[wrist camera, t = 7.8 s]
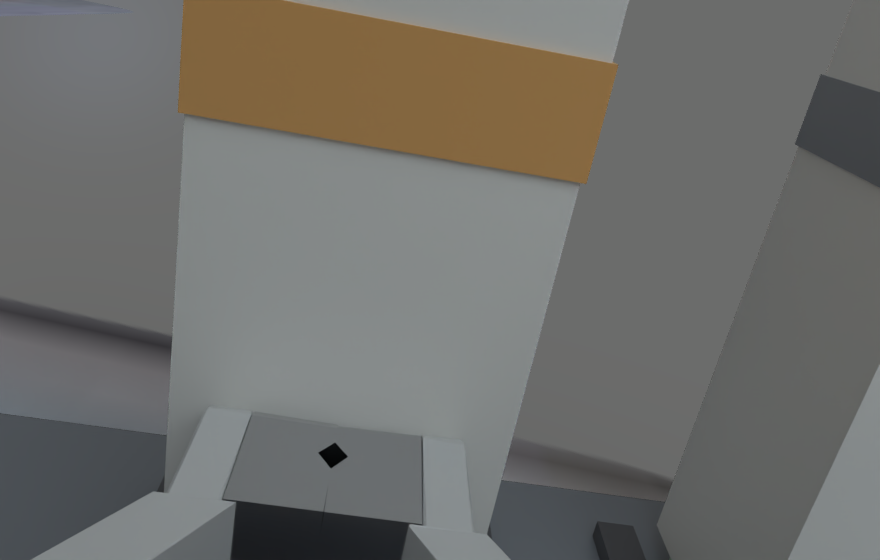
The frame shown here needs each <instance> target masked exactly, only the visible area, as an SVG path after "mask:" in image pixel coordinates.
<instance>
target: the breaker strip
mask: <svg viewBox="0 0 880 560" xmlns="http://www.w3.org/2000/svg"><path fill="white" fill-rule="evenodd" d="M795 144H796V145H798V150H797V152H796V155H795V157H794V160H793V163H792V165H791V168H790V170H789V173H788V176H787V178H786V181H785V184H784V186H783V189H782V192H781V194H780V197H779V200H778V203H777V205H776V208H775V211H774V213H773V216H772V219H771V221H770V224H769V227H768V229H767V232H766V235H765V237H764V240H763V243H762V245H761V248H760V251H759V253H758V256H757V259H756V261H755V264H754V267H753V269H752V272H751V275H750V278H749V280H748V283H747V285H746V288H745V291H744V293H743V296H742V299H741V302H740V304H739V307H738V310H737V312H736V315H735V317H734V320H733V323H732V325H731V328H730V331H729V333H728V336H727V339H726V341H725V344H724V347H723V350H722V352H721V355H720V357H719V360H718V363H717V366H716V368H715V371H714V374H713V376H712V379H711V382H710V384H709V387H708V390H707V392H706V395H705V398H704V400H703V403H702V406H701V408H700V411H699V414H698V416H697V419H696V422H695V424H694V427H693V430H692V432H691V435H690V438H689V440H688V443H687V446H686V448H685V451H684V454H683V456H682V459H681V462H680V464H679V467H678V470H677V472H676V475H675V478H674V480H673V483H672V486H671V488H670V491H669V494H668V496H667V499H666V502H661V501H653V500H646V499H638V498H631V497H623V496H616V495H608V494H601V493H593V492H586V491H578V490H571V489H563V488H556V487H548V486H541V485H533V484H526V483H518V482H511V481H503V480H501V483H500V487H499V491H498V494H497V498H496V502H495V506H494V509H493V513H492V517H491V521H490V524H489V528H488V532H487V535H488V536H489V537H490V538H491V539H492V540H493V541H494V542H495V543H496V544H497V545H498V547H499V548H500V549H501V550H502V551H503V552H504V553H505V554H506V555H507V556H508V557H509V558H510V559H511V560H880V0H853V2H852V5H851V8H850V10H849V13H848V16H847V18H846V21H845V24H844V26H843V29H842V32H841V34H840V37H839V40H838V42H837V45H836V48H835V50H834V53H833V56H832V59H831V61H830V64H829V66H828V69H827V72H826V75H822V74H821V76H820V78H819V81H818V84H817V86H816V89H815V91H814V94H813V97H812V99H811V103H810V105H809V108H808V110H807V113H806V116H805V119H804V121H803V124H802V127H801V129H800V132H799V135H798V137H797V140H796V143H795ZM166 444H167V436H166V435H159V434H151V433H144V432H136V431H129V430H121V429H114V428H106V427H99V426H91V425H84V424H76V423H69V422H61V421H54V420H46V419H39V418H31V417H24V416H16V415H9V414H1V413H0V560H31V559H33V558H35V557H36V556H38V555H40V554H42V553H44V552H45V551H47V550H49V549H51V548H53V547H54V546H56V545H58V544H60V543H61V542H63V541H65V540H67V539H69V538H70V537H72V536H74V535H76V534H78V533H79V532H81V531H83V530H85V529H87V528H88V527H90V526H92V525H94V524H95V523H97V522H99V521H101V520H103V519H104V518H106V517H108V516H110V515H112V514H113V513H115V512H117V511H119V510H121V509H122V508H124V507H126V506H128V505H129V504H131V503H133V502H135V501H137V500H138V499H140V498H142V497H144V496H146V495H147V494H149V493H151V492H162V493H164V481H165V462H166Z"/></svg>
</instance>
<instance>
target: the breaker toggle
mask: <svg viewBox="0 0 880 560" xmlns="http://www.w3.org/2000/svg"><path fill="white" fill-rule="evenodd" d="M628 2H629V0H184V5H183V23H182V42H181V61H180V82H179V100H178V112H179V113H184V132H183V150H182V151H183V152H182V169H181V188H180V206H179V224H178V243H177V261H176V279H175V297H174V315H173V334H172V352H171V371H170V389H169V407H168V426H167V444H166V462H165V481H164V493H167V491H168V488H169V486H170V484H171V482H172V480H173V478H174V475H175V473H176V471H177V469H178V467H179V465H180V462H181V460H182V458H183V456H184V454H185V452H186V449H187V447H188V445H189V443H190V441H191V439H192V437H193V434H194V432H195V430H196V428H197V426H198V424H199V421H200V419H201V417H202V415H203V413H204V411H205V410H206V409H207V408H208V407H209V406H211V405H214V406H221V407H229V408H236V409H243V410H251V411H252V412H253V413H254V412H255V411H256V412H262V413H268V414H275V415H281V416H287V417H293V418H299V419H306V420H312V421H318V422H324V423H330V424H337V425H338V426H343V427H351V428H359V429H367V430H375V431H384V432H392V433H400V434H408V435H416V436H421V435H423V436H432V437H442V438H451V439H461V440H462V441H463V442H464V443H465V447H466V457H467V466H468V476H469V485H470V494H471V504H472V513H473V522H474V532H475V533H481V534H487V532H488V528H489V524H490V521H491V517H492V513H493V509H494V506H495V502H496V498H497V494H498V491H499V487H500V483H501V479H502V475H503V472H504V468H505V464H506V460H507V457H508V453H509V449H510V445H511V442H512V438H513V434H514V430H515V426H516V423H517V419H518V415H519V412H520V408H521V404H522V400H523V396H524V393H525V389H526V385H527V381H528V377H529V373H530V370H531V367H532V363H533V359H534V355H535V351H536V348H537V344H538V340H539V336H540V333H541V329H542V325H543V321H544V317H545V314H546V310H547V306H548V303H549V299H550V295H551V291H552V288H553V284H554V280H555V276H556V272H557V269H558V265H559V261H560V258H561V254H562V250H563V246H564V242H565V238H566V235H567V231H568V227H569V223H570V220H571V216H572V212H573V209H574V205H575V201H576V197H577V194H578V189H579V186H580V183H584V184H586V183H587V180H588V176H589V172H590V169H591V165H592V161H593V157H594V154H595V150H596V146H597V142H598V139H599V135H600V131H601V128H602V124H603V120H604V117H605V113H606V109H607V105H608V102H609V98H610V94H611V90H612V87H613V83H614V79H615V76H616V72H617V68H618V64H616V63H614V62H613V58H614V55H615V51H616V47H617V43H618V40H619V36H620V32H621V28H622V25H623V21H624V17H625V13H626V9H627V6H628Z"/></svg>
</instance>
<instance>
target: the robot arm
mask: <svg viewBox="0 0 880 560" xmlns="http://www.w3.org/2000/svg"><path fill="white" fill-rule="evenodd" d="M31 560H511V559H510V558H509V557H508V556H507V555H506V554H505V553H504V552H503V551H502V550H501V549H500V548H499V547H498V545H497V544H496V543H495V542H494V541H493V540H492V539H491V538H490V537H489V536H488V535H487V534H481V533H475V532H474V522H473V513H472V504H471V494H470V485H469V476H468V466H467V457H466V447H465V443H464V442H463V441H462V440H461V439H451V438H442V437H432V436H423V435H421V436H416V435H408V434H400V433H392V432H384V431H375V430H367V429H359V428H351V427H343V426H338V425H337V424H330V423H324V422H318V421H312V420H306V419H299V418H293V417H287V416H281V415H275V414H268V413H262V412H256V411H255V412H254V413H253V412H252V411H251V410H243V409H236V408H229V407H221V406H214V405H211V406H209V407H208V408H207V409H206V410H205V411H204V413H203V415H202V417H201V419H200V421H199V424H198V426H197V428H196V430H195V432H194V434H193V437H192V439H191V441H190V443H189V445H188V447H187V449H186V452H185V454H184V456H183V458H182V460H181V462H180V465H179V467H178V469H177V471H176V473H175V475H174V478H173V480H172V482H171V484H170V486H169V488H168V491H167V493H162V492H151V493H149V494H147V495H146V496H144V497H142V498H140V499H138V500H137V501H135V502H133V503H131V504H129V505H128V506H126V507H124V508H122V509H121V510H119V511H117V512H115V513H113V514H112V515H110V516H108V517H106V518H104V519H103V520H101V521H99V522H97V523H95V524H94V525H92V526H90V527H88V528H87V529H85V530H83V531H81V532H79V533H78V534H76V535H74V536H72V537H70V538H69V539H67V540H65V541H63V542H61V543H60V544H58V545H56V546H54V547H53V548H51V549H49V550H47V551H45V552H44V553H42V554H40V555H38V556H36V557H35V558H33V559H31Z"/></svg>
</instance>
